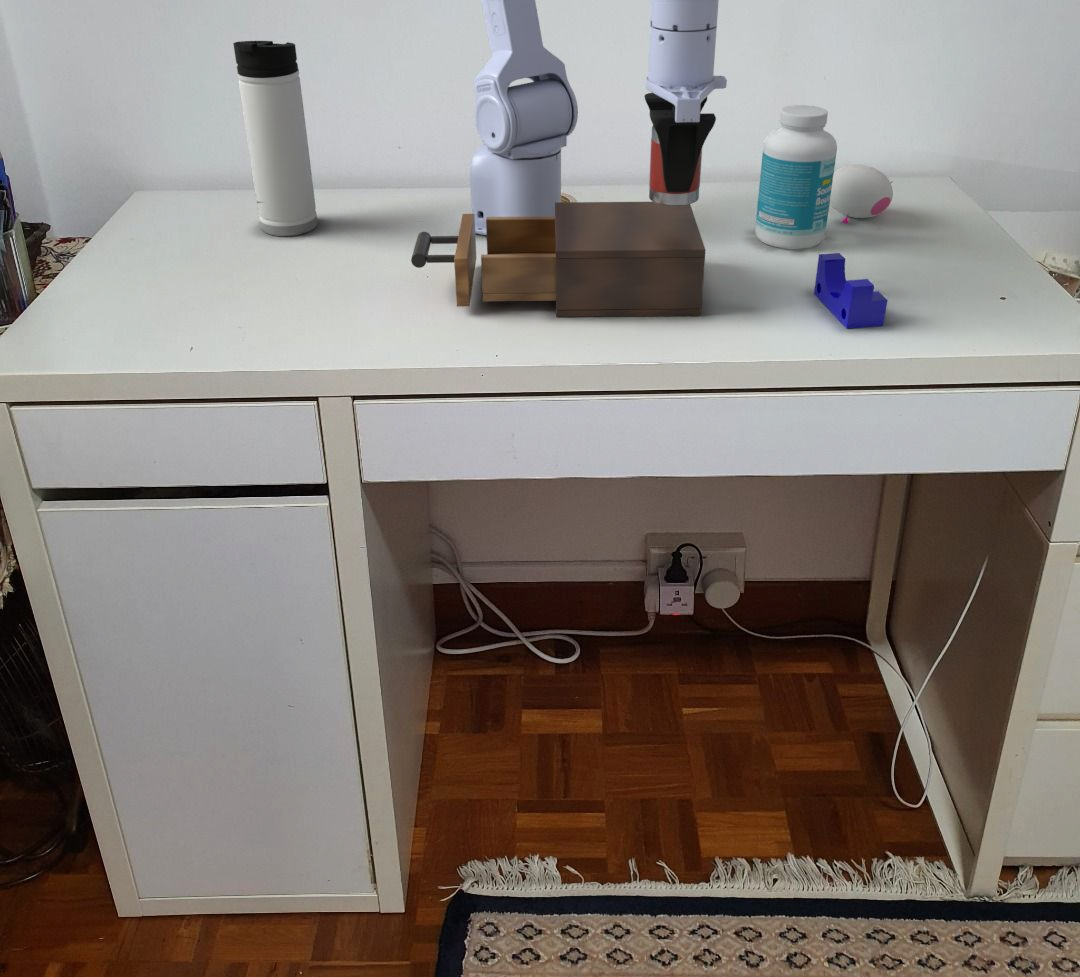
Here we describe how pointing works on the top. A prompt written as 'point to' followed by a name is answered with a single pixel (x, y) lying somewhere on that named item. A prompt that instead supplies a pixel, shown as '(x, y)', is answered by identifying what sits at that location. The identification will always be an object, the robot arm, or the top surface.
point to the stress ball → (860, 191)
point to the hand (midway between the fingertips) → (674, 182)
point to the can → (657, 180)
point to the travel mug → (276, 136)
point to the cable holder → (848, 294)
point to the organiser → (627, 260)
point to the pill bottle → (796, 179)
